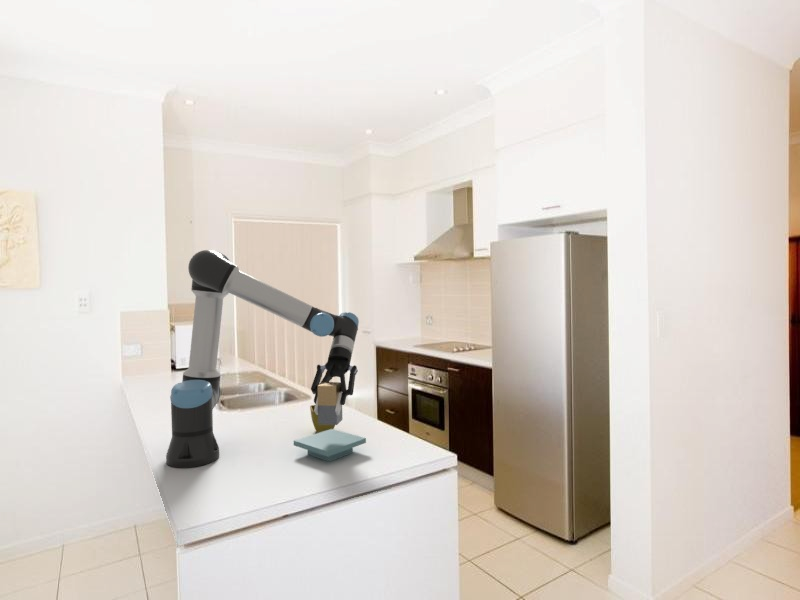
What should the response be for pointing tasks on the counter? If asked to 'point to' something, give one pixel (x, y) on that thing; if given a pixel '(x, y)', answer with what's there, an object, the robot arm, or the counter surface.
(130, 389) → the counter surface
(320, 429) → the flower pot
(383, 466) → the counter surface
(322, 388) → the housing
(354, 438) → the teal stand
